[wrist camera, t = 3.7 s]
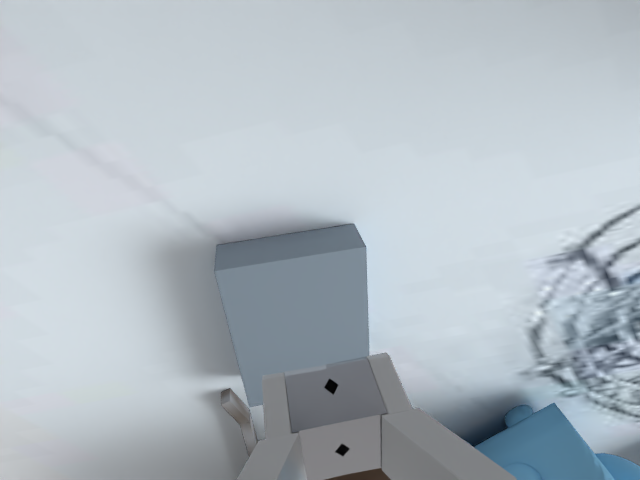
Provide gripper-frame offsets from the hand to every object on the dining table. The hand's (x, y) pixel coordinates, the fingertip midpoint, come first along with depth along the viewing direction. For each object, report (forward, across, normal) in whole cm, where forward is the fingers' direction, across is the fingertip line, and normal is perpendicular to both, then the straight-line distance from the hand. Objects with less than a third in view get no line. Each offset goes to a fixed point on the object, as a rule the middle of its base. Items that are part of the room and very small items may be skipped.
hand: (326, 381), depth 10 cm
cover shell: (+17, 0, +11) cm, 20 cm away
